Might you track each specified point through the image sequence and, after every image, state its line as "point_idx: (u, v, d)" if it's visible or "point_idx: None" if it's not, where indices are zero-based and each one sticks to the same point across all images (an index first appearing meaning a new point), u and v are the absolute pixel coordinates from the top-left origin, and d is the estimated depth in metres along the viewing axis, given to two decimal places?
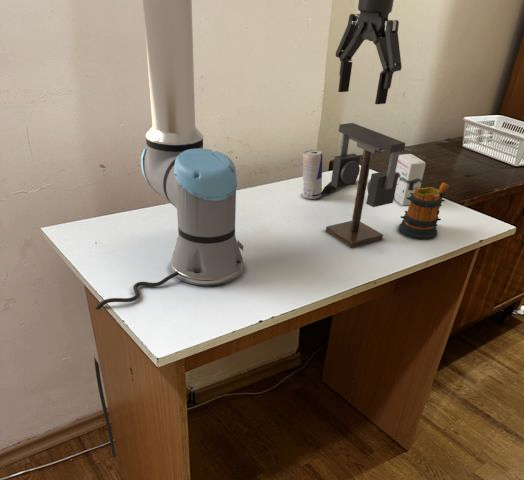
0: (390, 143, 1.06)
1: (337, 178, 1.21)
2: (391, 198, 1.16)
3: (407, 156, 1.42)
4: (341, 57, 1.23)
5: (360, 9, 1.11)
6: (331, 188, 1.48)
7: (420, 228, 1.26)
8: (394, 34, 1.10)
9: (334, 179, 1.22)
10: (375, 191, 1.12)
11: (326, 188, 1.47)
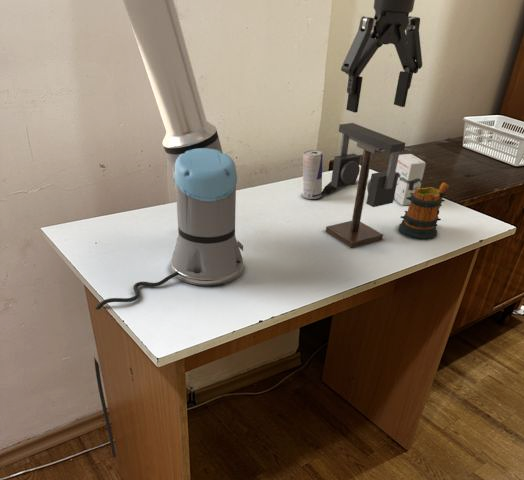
0: (390, 143, 1.06)
1: (337, 178, 1.21)
2: (391, 198, 1.16)
3: (407, 156, 1.42)
4: None
5: None
6: (331, 188, 1.48)
7: (420, 228, 1.26)
8: (362, 33, 0.97)
9: (334, 179, 1.22)
10: (375, 191, 1.12)
11: (326, 188, 1.47)
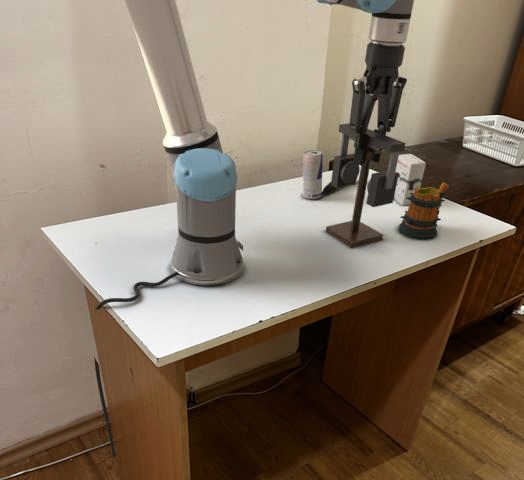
0: (390, 143, 1.06)
1: (337, 178, 1.21)
2: (391, 198, 1.16)
3: (407, 156, 1.42)
4: None
5: None
6: (331, 188, 1.48)
7: (420, 228, 1.26)
8: (357, 95, 1.04)
9: (334, 179, 1.22)
10: (375, 191, 1.12)
11: (326, 188, 1.47)
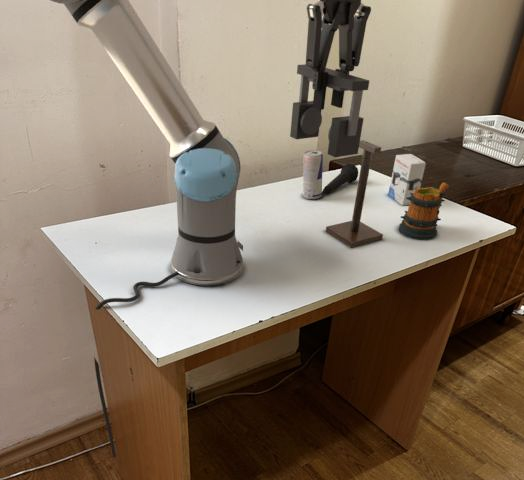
0: (352, 80, 0.93)
1: (296, 128, 1.08)
2: (355, 148, 1.02)
3: (407, 156, 1.42)
4: None
5: None
6: (331, 188, 1.48)
7: (420, 228, 1.26)
8: (313, 23, 0.91)
9: (293, 130, 1.09)
10: (337, 137, 0.98)
11: (326, 188, 1.47)
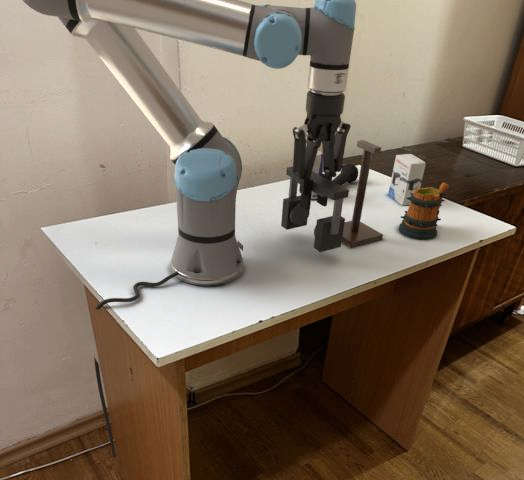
0: (333, 190, 1.05)
1: (286, 220, 1.20)
2: (339, 242, 1.14)
3: (407, 156, 1.42)
4: None
5: None
6: None
7: (420, 228, 1.26)
8: (298, 143, 1.03)
9: (284, 221, 1.21)
10: (321, 236, 1.10)
11: None
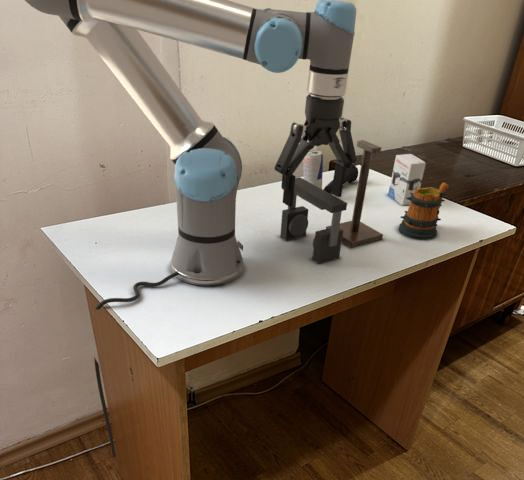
0: (331, 203, 1.07)
1: (285, 231, 1.21)
2: (337, 254, 1.16)
3: (407, 156, 1.42)
4: None
5: None
6: (331, 188, 1.48)
7: (420, 228, 1.26)
8: (292, 138, 1.02)
9: (283, 232, 1.23)
10: (320, 248, 1.12)
11: (326, 188, 1.47)
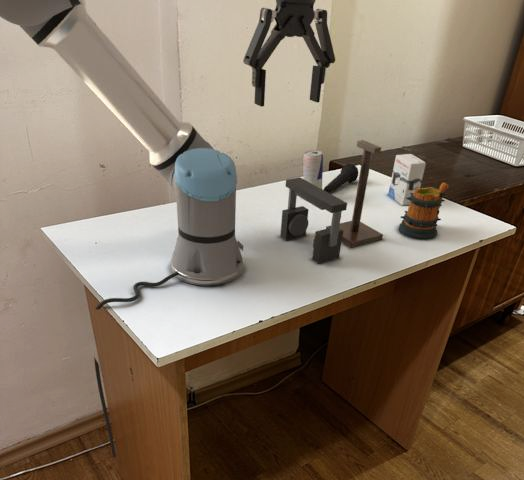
0: (331, 203, 1.07)
1: (285, 231, 1.21)
2: (337, 254, 1.16)
3: (407, 156, 1.42)
4: None
5: None
6: (331, 188, 1.48)
7: (420, 228, 1.26)
8: (261, 24, 0.95)
9: (283, 232, 1.23)
10: (320, 248, 1.12)
11: (326, 188, 1.47)
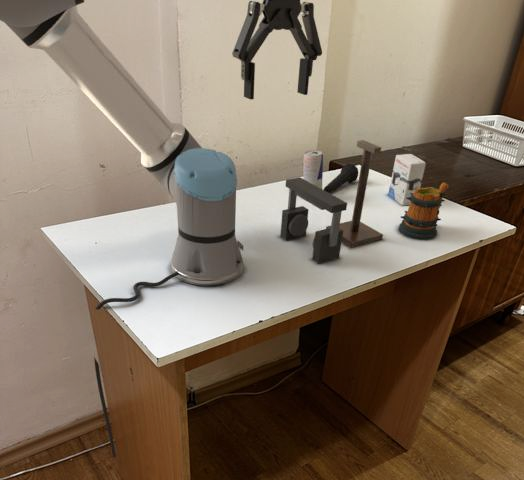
0: (331, 203, 1.07)
1: (285, 231, 1.21)
2: (337, 254, 1.16)
3: (407, 156, 1.42)
4: None
5: None
6: (331, 188, 1.48)
7: (420, 228, 1.26)
8: (250, 17, 0.96)
9: (283, 232, 1.23)
10: (320, 248, 1.12)
11: (326, 188, 1.47)
